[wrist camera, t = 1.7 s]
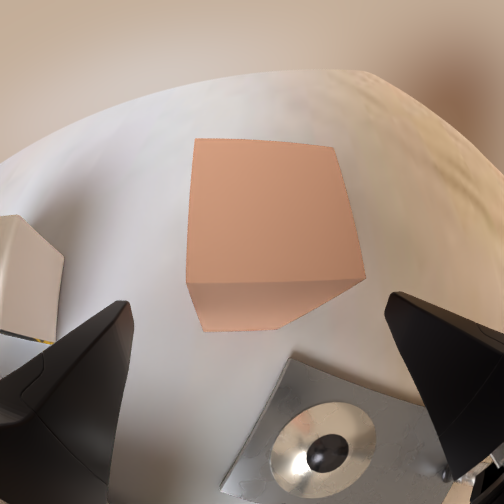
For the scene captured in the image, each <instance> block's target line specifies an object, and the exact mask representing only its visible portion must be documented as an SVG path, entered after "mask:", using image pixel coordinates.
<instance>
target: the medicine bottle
mask: <svg viewBox="0 0 504 504" xmlns="http://www.w3.org/2000/svg"><path fill="white" fill-rule="evenodd" d="M63 264H64V256H63V255H62V254H61V253H60V252H59V251H57V250H56V249H55V248H54V247H53V246H52V245H51V244H49V243H48V242H47V241H46V240H45V239H44V238H43V237H42V236H41V235H40V234H39V233H38V232H36V231H35V230H34V229H33V228H32V227H31V226H30V225H29V224H28V223H27V222H26V221H25V220H24V219H23V218H22V217H21V216H20V215H9V216H0V333H1V334H4V335H8V336H13V337H17V338H21V339H26V340H31V341H35V342H41V343H46V344H54V343H55V341H56V323H57V310H58V300H59V291H60V284H61V277H62V270H63Z"/></svg>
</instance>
